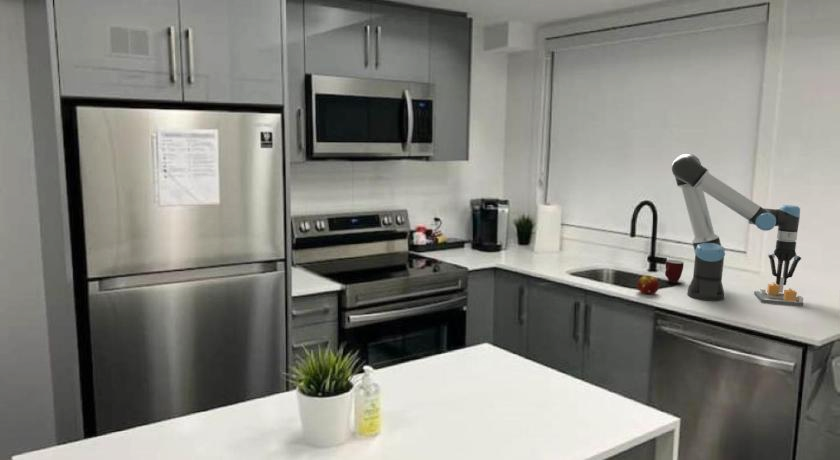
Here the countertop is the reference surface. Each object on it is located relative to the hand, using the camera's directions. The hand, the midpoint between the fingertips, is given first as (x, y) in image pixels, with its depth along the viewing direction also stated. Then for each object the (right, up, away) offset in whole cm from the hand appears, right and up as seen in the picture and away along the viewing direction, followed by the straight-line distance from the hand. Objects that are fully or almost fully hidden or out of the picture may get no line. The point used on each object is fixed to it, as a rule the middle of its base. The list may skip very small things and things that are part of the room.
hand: (779, 291), depth 271 cm
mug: (-38, +2, +26) cm, 46 cm away
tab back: (-3, -1, +1) cm, 3 cm away
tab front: (-1, -3, -9) cm, 9 cm away
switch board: (-3, -3, -3) cm, 6 cm away
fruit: (-58, -1, +5) cm, 58 cm away
